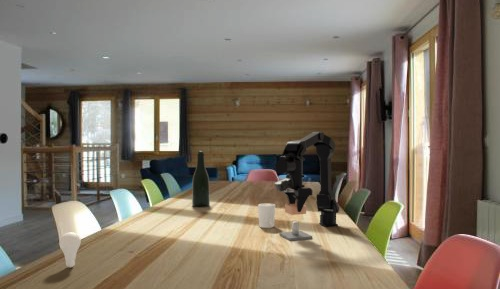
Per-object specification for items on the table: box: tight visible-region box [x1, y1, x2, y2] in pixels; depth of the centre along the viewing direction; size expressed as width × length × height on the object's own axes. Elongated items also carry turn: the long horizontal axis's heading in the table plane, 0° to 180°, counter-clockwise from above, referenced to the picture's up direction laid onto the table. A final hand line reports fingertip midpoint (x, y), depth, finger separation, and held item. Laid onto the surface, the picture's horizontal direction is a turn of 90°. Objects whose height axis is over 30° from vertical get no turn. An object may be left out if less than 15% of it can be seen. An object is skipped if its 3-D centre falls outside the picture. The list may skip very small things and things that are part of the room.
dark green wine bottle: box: [191, 150, 211, 208], centre depth 240 cm, size 10×10×33 cm
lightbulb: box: [58, 231, 82, 269], centre depth 125 cm, size 6×6×11 cm
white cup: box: [257, 202, 276, 229], centre depth 182 cm, size 8×8×10 cm
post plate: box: [278, 221, 313, 242], centre depth 162 cm, size 10×10×6 cm
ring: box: [284, 203, 307, 216], centre depth 162 cm, size 6×6×3 cm
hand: (295, 210), depth 162 cm, fingers closed on ring, 6 cm apart
